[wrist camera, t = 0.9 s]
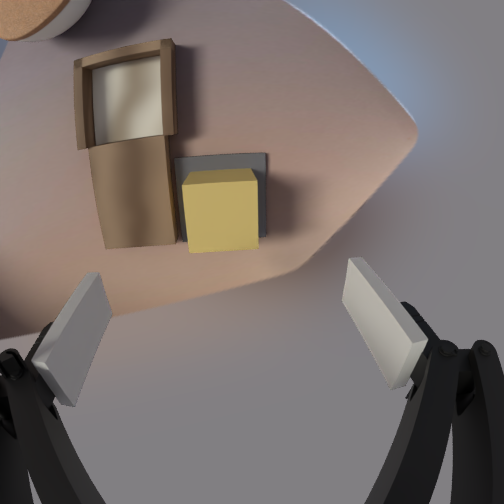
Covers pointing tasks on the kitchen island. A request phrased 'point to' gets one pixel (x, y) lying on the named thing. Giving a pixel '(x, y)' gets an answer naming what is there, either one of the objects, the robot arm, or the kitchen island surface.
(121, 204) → the brown tray
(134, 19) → the kitchen island surface
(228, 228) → the block
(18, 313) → the kitchen island surface
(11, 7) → the lidded jar
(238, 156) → the mat
